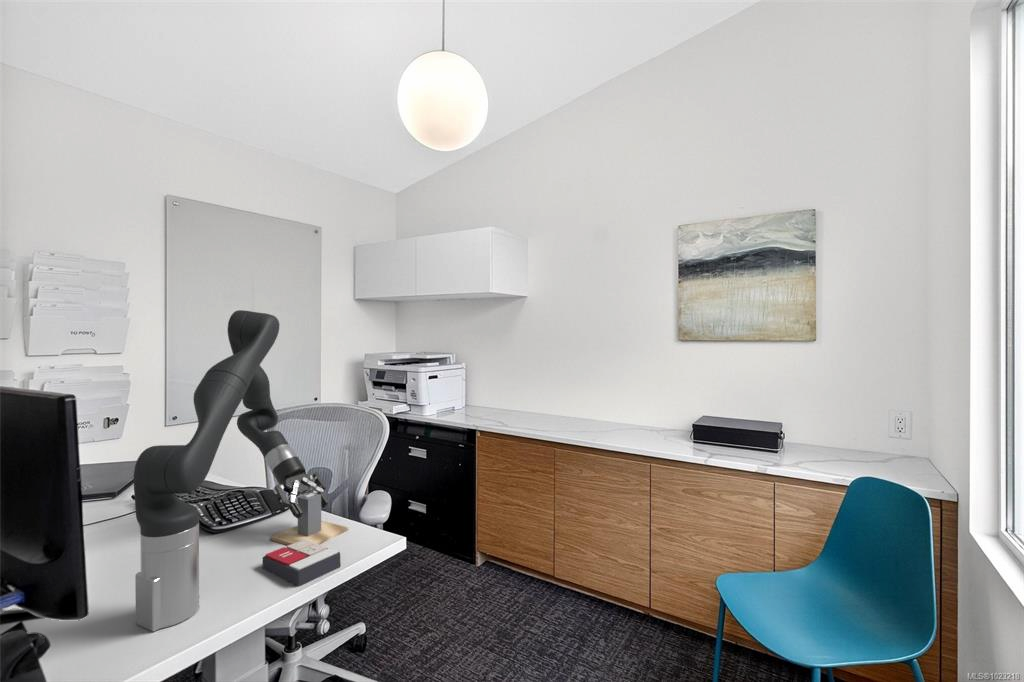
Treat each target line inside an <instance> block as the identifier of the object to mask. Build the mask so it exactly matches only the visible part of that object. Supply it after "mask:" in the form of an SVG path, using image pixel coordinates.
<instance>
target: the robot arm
mask: <svg viewBox="0 0 1024 682" xmlns="http://www.w3.org/2000/svg"><path fill="white" fill-rule="evenodd" d="M279 332H280V321H279V319H278V318H277V317H276V316H275V315H274V314H270V313H266V312H265V313H264V312H258V311H257V312H256V311H250V310H236V311H234V312H232V313H231V315H230V317H229V318H228V323H227V336H228V337H227V338H228V341H229V345H230V349H231V352H232V355H230V356H227V357H226V358H224V359H221V361H219V362H217V363H215V364H214V365H212V367H210V368H209V369H208V370H207V371H206V373H205V374H204V375H203V377H202V379H201V380H200V382H199V383H198V385H197V387H196V388H195V391H194V392H193V405H194V409H195V415H196V417H197V421H198V422H197V423H198V425H197V428H196V430H195V433H194V434H193V436H192V438H191V440H190V441H189V442H188V443H186V444H173V445H172V444H171V445H170V444H169V445H168V444H166V445H165V444H163V445H153V446H150V447H147V448H146V449H144V450H143V451H142V452H141V453H140V454H139V456H138V457H137V460H136V462H135V465H134V469H133V492H134V493H133V495H134V503H135V504H134V508H135V517H136V522H137V523H138V524H139V528H140V530H139V531H140V571H138V572H137V573H135V575H134V578H135V580H134V581H135V585H134V586H135V587H134V588H135V589H134V590H135V591H134V592H135V624H137V625H139V626H141V627H143V628H144V629H146V630H149V631H151V632H156V631H158V630H160V629H163V628H167V627H172V626H174V625H177V624H180V623H182V622H184V621H186V620H188V619H189V618H191V617H192V616H194V615H195V614H196V613H197V612H198V611H199V609H200V596H201V595H200V512H199V509H198V508H197V507H196V506H194V505H193V504H189V503H187V502H185V501H184V500H182V499H180V498H179V497H178V496H176V495H178V494H179V495H181V494H189V493H193V492H194V491H196V490H198V489H199V487H200V486H202V484H203V483H204V481H205V480H206V478H207V476H208V474H209V471H210V470H211V467H212V465H213V462H214V460H215V457H216V454H217V452H218V449H219V447H220V444H221V442H222V440H223V437H224V435H225V432H226V431H227V428H228V426H229V424H230V422H231V420H232V419H233V416H234V415H235V412H236V411H237V409H238V408H239V406H240V404H241V402H242V403H243V406H244V408H246V409H248V411H246V412H243V413H241V414H240V415H238V417H237V419H236V426H237V429H238V430H239V432H240V433H241V434H242V435H243V436H244V437H246V438H247V439H248V440H249V441H250V442H251V443H252V444H253V445H255V446H256V447H257V448H258V450H259V451H260V454H262V456H263V458H264V459H265V460H264V461H265V462H266V464H267V467H268V468H269V470H270V472H271V474H272V475H273V476H274V478H275V481H277V484H276V485H275V486H274V488H273V489H272V490H271V493H272V496H273V498H274V499H275V501H276V503H277V504H278V507H279V508H280V509H284V508H287V509H289V510H290V512H291V514H292V515H293V517H295V518H296V519H298V518H300V517H301V516H302V515H303V512H302V510H301V509H300V507H299V505H298V501H297V502H296V497H297V498H298V497H300V496H302V495H305V494H308V493H316V494H321V509H325V508H326V507H327V506H328V505H329V499H328V497H327V496H326V494H325V493H324V492H325V491H326V490H327V489H328V485H327V484H326V482H325V481H324V480H323V478H322V477H321V476H320V474H319V473H318V472H316V471H314V473H313V474H311V475H308V474H307V472H306V468H305V466H304V464H303V463H302V461H301V460H300V457H298V455H297V453H296V452H295V451H294V449H293V448H292V447H291V445H290V444H289V443H288V441H287V439H286V438H285V436H284V434H283V433H282V432H281V431H280V430H270V429H272V428H274V427H275V426H277V423H278V421H279V416H278V413H277V411H276V409H275V407H274V405H273V402H272V399H271V390H270V389H271V388H270V387H271V386H270V379H269V377H268V374H267V373H266V372H265V370H264V368H263V367H262V366H261V364H262V363H263V361H264V359H265V358H266V356H267V355H268V353H269V352H270V350H272V347H273V346H274V344H275V342H276V340H277V338H278V335H279ZM267 430H270V431H267ZM310 487H311V488H310ZM285 493H287V495H286V494H285Z"/></svg>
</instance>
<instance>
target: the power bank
mask: <svg viewBox="0 0 1024 682" xmlns="http://www.w3.org/2000/svg"><path fill="white" fill-rule="evenodd" d="M297 504H298V505H299V507H300V509H301V510H302V512H303V515H302V516H301V517H300V518H297V525H298V534H300V535H304V536H310V535H313V534H315V533H317V532H319V531H321V521H322V506H321V494H316V493H308V494H307V493H305V494H302V495H299V496H297Z"/></svg>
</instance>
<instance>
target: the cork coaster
mask: <svg viewBox="0 0 1024 682" xmlns="http://www.w3.org/2000/svg"><path fill="white" fill-rule="evenodd" d="M348 531H349V527H348V526H345V525H340V524H337V523H332V522H328V521H324V520H321V531H319V532H317V533H315V534H313V535H310V536H304V535H300V534H298V524H297V525H295V526H293V527H290V528H287V529H286V530H284V531H281V532H279V533H277V534H275V535H272V536H270V538H269V540H270V541H271V542H275V543H279V544H282V545H286V546H288V545H291V544H294V543H296V542H299V541H301V540H307V541H310V542H313V543H314V544H319V545H322V544H323V543H326V542H327V541H329V540H331V539H333V538H335V537H337V536H340V535H341V534H343V533H345V532H348Z"/></svg>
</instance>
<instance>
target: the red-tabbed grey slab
mask: <svg viewBox="0 0 1024 682" xmlns="http://www.w3.org/2000/svg"><path fill="white" fill-rule="evenodd" d="M340 568H341V552H340V551H337V550H334V549H331V548H328V546H325V545H322V544H314V543H313V542H310V541H307V540H301V541H299V542H296V543H294V544H291V545H286V547H285V546H284V547H281V548H278V549H274V550H273V551H271V552H267V553H265V555H264V556H262V569H263V570H265V571H267V572H269V573H271V574H272V575H275V576H277V577H279V578H281V579H283V580H286V582H287V583H288V584H289V583H290V585H293V586H294V587H297V588H298V587H299V588H300V587H301V586H304V585H307V584H308V583H310V582H312V581H314V580H316V579H318V578H321V577H323V576H325V575H327V574H329V573H330V572H333V571H335V570H337V569H340Z"/></svg>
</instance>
